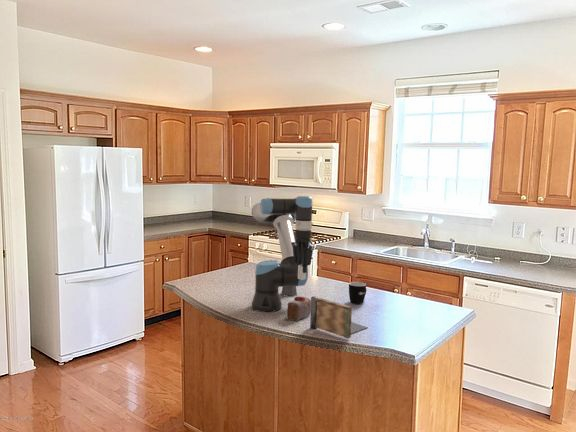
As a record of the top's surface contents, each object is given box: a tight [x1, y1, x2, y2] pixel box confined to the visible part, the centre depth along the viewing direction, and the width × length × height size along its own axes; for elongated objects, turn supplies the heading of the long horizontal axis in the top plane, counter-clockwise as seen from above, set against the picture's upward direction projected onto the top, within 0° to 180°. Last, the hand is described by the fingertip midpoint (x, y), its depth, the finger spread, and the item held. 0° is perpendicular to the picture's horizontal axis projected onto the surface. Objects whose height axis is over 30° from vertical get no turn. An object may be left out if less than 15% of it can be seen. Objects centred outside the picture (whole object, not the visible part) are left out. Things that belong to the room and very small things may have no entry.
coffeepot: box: [281, 286, 298, 297], centre depth 259 cm, size 15×9×18 cm, turn 113°
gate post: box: [309, 295, 319, 330], centre depth 205 cm, size 3×3×14 cm
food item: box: [286, 296, 311, 322], centre depth 220 cm, size 14×8×10 cm, turn 151°
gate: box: [316, 297, 353, 339], centre depth 197 cm, size 17×2×13 cm, turn 47°
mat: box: [351, 321, 369, 335], centre depth 206 cm, size 11×16×1 cm
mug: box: [348, 281, 367, 305], centre depth 247 cm, size 12×9×10 cm
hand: (301, 278), depth 219 cm, fingers closed
